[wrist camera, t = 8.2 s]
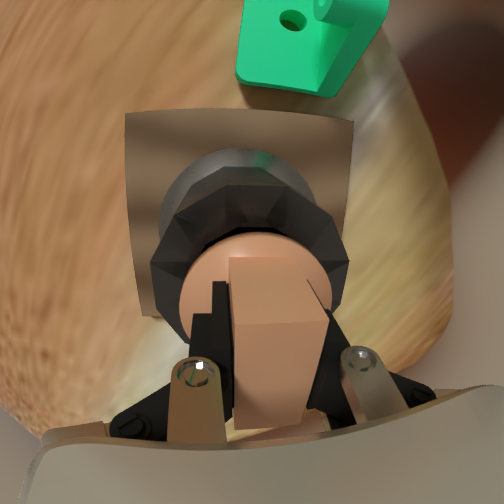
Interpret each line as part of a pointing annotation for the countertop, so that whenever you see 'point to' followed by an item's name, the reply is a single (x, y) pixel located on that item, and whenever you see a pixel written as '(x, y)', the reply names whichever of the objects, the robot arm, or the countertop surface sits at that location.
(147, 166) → the mount board
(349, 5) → the camera mount
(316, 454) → the robot arm
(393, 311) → the countertop surface
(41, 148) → the countertop surface
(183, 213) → the black hollow cylinder
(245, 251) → the tan knob
